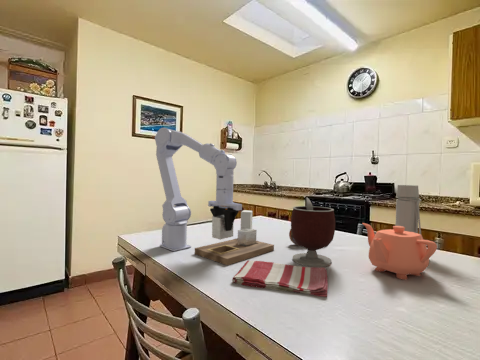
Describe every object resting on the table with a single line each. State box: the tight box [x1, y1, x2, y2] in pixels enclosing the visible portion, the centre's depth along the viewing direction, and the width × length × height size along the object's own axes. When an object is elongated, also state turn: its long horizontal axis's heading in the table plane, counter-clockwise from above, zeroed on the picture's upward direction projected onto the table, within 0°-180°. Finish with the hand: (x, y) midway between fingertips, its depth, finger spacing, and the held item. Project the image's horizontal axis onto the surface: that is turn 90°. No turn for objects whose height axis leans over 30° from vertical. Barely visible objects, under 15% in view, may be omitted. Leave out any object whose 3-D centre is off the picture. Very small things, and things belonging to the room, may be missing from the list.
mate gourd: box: [290, 197, 336, 268], centre depth 87 cm, size 16×14×20 cm
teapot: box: [361, 222, 438, 281], centre depth 78 cm, size 16×17×14 cm
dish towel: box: [231, 259, 329, 298], centre depth 71 cm, size 17×23×3 cm
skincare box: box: [240, 209, 253, 230], centre depth 115 cm, size 6×4×12 cm
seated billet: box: [237, 228, 258, 247], centre depth 99 cm, size 4×6×7 cm, turn 137°
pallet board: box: [194, 237, 275, 266], centre depth 94 cm, size 16×24×2 cm, turn 137°
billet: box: [211, 215, 234, 240], centre depth 89 cm, size 4×6×7 cm, turn 137°
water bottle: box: [395, 184, 422, 235], centre depth 98 cm, size 9×8×25 cm
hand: (223, 229), depth 90 cm, fingers closed on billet, 4 cm apart
